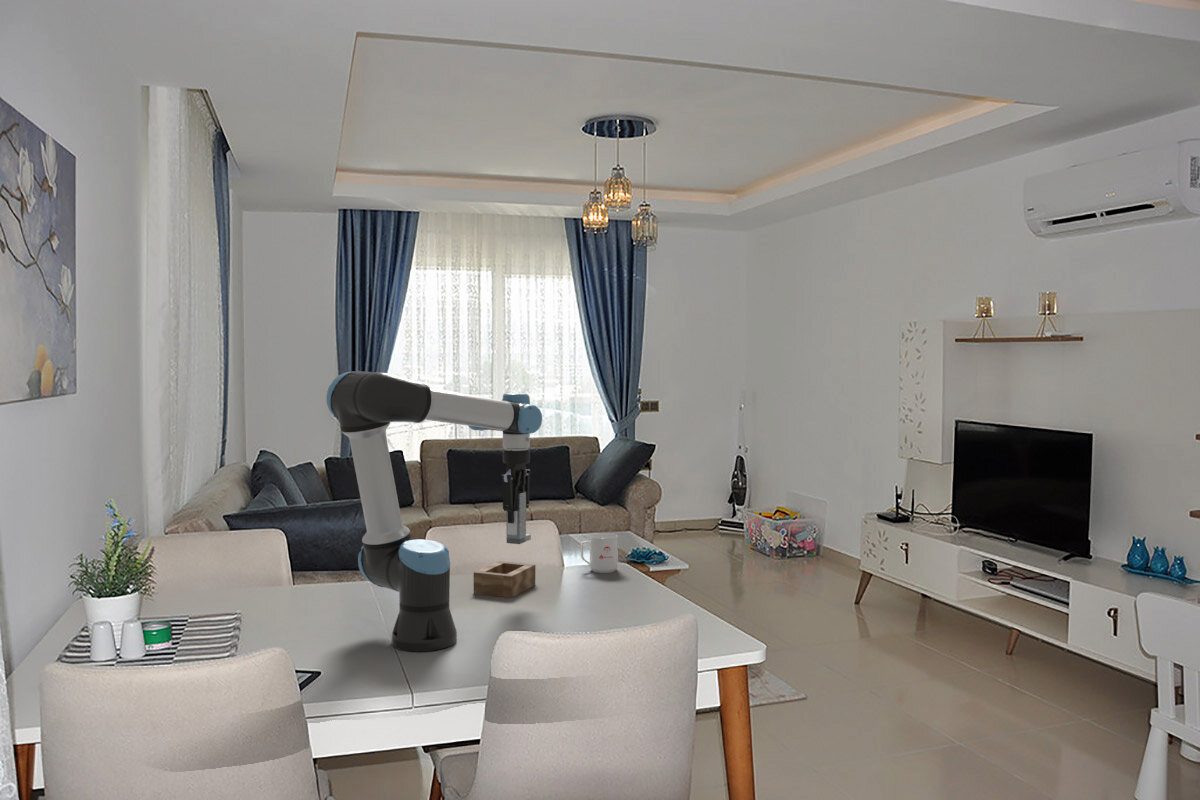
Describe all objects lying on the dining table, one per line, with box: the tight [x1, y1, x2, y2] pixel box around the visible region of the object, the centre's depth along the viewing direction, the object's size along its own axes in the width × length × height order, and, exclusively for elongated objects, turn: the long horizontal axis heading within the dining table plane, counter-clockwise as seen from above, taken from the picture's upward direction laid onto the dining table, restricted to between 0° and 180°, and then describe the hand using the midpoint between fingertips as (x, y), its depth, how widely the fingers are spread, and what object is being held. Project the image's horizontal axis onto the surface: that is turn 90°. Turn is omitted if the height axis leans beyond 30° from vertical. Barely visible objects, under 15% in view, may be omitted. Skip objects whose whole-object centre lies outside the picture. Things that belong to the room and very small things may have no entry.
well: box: [473, 560, 536, 598], centre depth 269 cm, size 16×12×6 cm
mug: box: [580, 532, 619, 574], centre depth 292 cm, size 12×9×11 cm
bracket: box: [506, 491, 532, 545], centre depth 257 cm, size 7×4×14 cm, turn 158°
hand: (516, 532), depth 256 cm, fingers closed on bracket, 4 cm apart
